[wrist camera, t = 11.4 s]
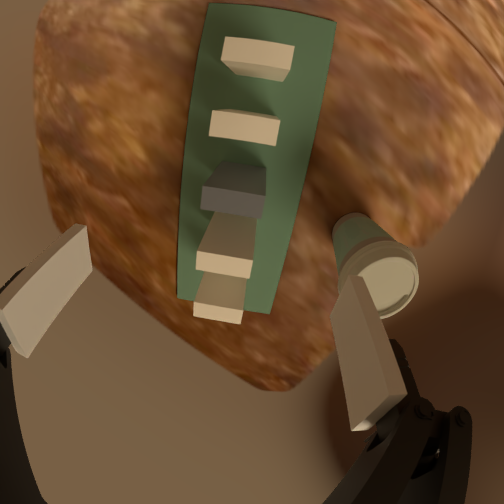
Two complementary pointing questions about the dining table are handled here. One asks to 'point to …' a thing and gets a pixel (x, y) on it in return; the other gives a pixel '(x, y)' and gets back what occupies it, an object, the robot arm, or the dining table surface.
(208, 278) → the domino
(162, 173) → the dining table surface
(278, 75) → the domino
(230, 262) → the domino
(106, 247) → the dining table surface
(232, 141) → the mat
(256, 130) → the domino
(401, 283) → the coffee cup
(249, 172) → the slate domino
